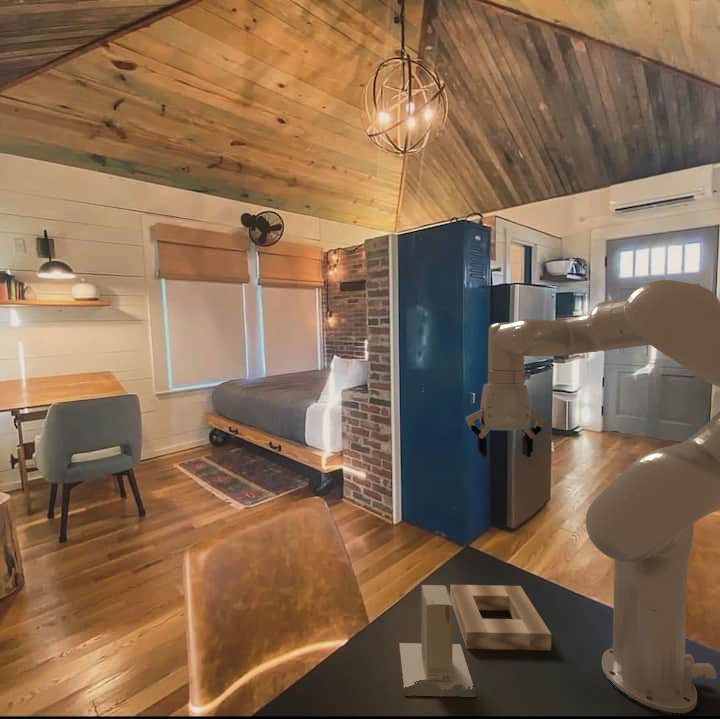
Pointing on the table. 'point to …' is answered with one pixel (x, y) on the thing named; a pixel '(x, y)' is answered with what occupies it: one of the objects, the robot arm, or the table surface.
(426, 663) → the skincare box
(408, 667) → the mat
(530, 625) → the holder
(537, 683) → the table surface
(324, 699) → the table surface
